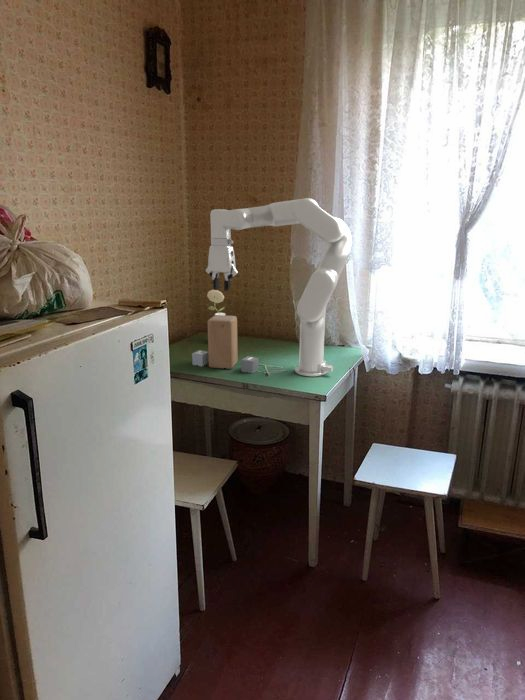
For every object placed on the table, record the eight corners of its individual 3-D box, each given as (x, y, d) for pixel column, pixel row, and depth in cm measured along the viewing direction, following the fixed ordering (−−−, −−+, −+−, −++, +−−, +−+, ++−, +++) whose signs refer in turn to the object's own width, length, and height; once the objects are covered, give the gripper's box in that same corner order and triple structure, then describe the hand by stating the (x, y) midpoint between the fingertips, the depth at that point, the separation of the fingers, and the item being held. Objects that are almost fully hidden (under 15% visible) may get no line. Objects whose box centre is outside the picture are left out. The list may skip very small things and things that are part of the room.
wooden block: (232, 369, 209) (231, 321, 203) (208, 368, 211) (206, 319, 205) (238, 362, 218) (237, 315, 212) (215, 360, 220) (214, 314, 214)
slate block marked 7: (209, 363, 217) (209, 351, 215) (202, 366, 213) (202, 354, 211) (199, 361, 219) (198, 349, 217) (192, 365, 215) (192, 352, 213)
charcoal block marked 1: (258, 370, 209) (258, 357, 207) (252, 373, 205) (252, 361, 203) (247, 368, 211) (247, 355, 210) (241, 371, 207) (241, 359, 205)
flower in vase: (237, 341, 249) (236, 289, 242) (223, 347, 240) (222, 293, 233) (215, 337, 256) (214, 286, 249) (201, 342, 246) (199, 290, 239)
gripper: (244, 242, 200) (245, 290, 205) (207, 241, 207) (209, 286, 212) (234, 244, 193) (235, 293, 199) (197, 242, 201) (198, 289, 206)
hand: (221, 289), depth 205 cm, fingers open, 4 cm apart
